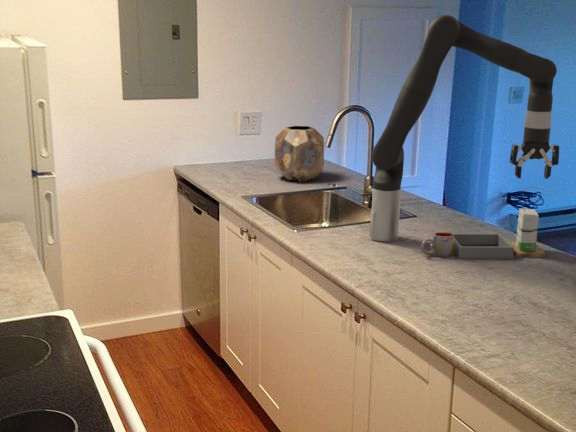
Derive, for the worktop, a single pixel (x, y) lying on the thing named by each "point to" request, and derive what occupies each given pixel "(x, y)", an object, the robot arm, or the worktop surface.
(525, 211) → the ink box
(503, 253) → the parts bin
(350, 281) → the worktop surface
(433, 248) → the mug
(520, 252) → the tan flat slab
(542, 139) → the robot arm
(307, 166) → the planter
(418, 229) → the worktop surface
